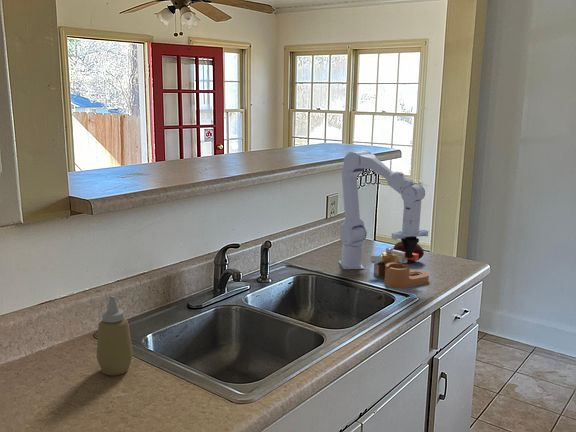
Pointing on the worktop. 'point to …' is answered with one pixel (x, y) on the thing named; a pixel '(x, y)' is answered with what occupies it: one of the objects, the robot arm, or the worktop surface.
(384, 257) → the brass valve
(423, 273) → the bracket
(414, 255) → the valve lever
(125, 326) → the squeeze bottle
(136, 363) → the worktop surface
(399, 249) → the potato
